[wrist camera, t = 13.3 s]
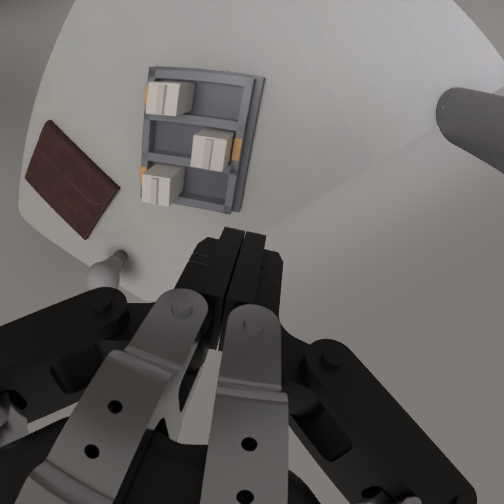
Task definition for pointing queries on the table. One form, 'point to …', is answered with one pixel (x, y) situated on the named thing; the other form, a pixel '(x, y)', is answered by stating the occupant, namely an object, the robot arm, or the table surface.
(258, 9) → the table surface
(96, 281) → the lightbulb
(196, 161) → the white rectangular block
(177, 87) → the white ridged block
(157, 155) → the switch bank
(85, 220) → the notebook
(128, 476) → the robot arm
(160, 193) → the white oblong block
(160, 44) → the table surface
